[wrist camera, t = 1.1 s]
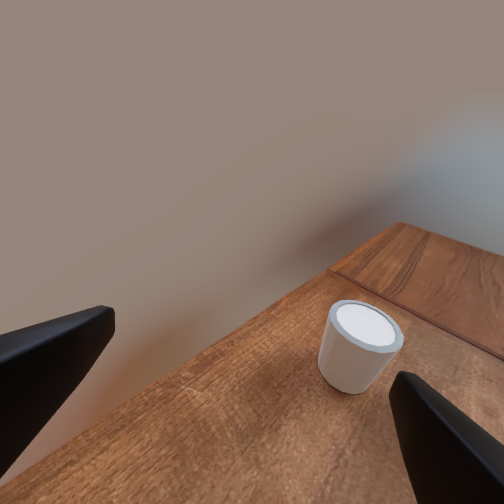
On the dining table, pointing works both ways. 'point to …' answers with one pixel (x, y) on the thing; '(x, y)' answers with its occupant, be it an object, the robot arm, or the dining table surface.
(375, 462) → the dining table surface
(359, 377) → the faceted white cup
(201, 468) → the dining table surface
